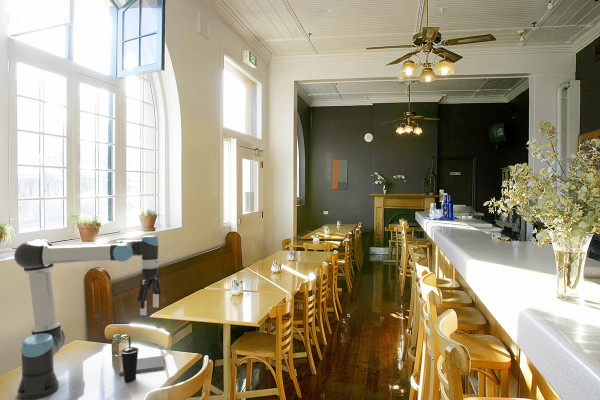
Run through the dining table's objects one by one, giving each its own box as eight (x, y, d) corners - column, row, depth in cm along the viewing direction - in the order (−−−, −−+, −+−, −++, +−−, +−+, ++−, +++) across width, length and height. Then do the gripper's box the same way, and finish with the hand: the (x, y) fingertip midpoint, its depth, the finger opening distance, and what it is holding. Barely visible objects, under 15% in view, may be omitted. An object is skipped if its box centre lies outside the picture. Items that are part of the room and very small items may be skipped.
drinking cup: (135, 383, 192) (134, 339, 191) (118, 383, 192) (117, 339, 191) (141, 376, 199) (141, 333, 199) (125, 376, 199) (124, 333, 199)
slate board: (119, 375, 201) (119, 372, 201) (121, 363, 214) (121, 360, 214) (164, 369, 207) (164, 366, 207) (163, 358, 220) (163, 355, 220)
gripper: (145, 272, 195) (145, 318, 195) (167, 263, 220) (167, 304, 220) (129, 272, 195) (129, 318, 196) (153, 263, 220) (153, 303, 221)
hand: (149, 311), depth 208 cm, fingers open, 13 cm apart
